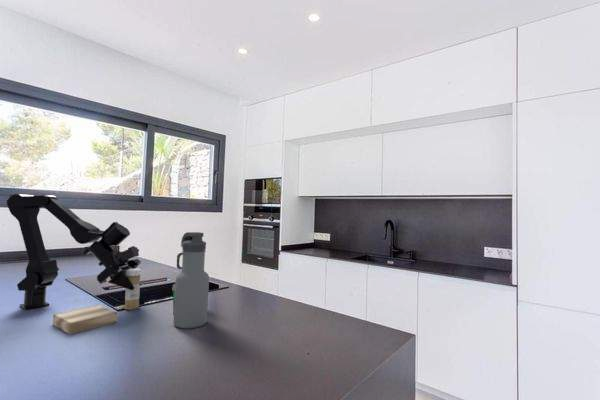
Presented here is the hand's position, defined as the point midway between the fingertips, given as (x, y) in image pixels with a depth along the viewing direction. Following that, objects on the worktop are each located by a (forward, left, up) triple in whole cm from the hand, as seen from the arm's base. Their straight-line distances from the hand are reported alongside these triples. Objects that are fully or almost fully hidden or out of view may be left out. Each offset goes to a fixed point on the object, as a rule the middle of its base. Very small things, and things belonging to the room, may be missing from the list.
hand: (136, 287), depth 108 cm
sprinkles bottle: (-1, -1, -7) cm, 7 cm away
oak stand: (+3, -17, -7) cm, 18 cm away
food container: (+16, +10, -7) cm, 20 cm away
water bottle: (+27, +2, -7) cm, 28 cm away
